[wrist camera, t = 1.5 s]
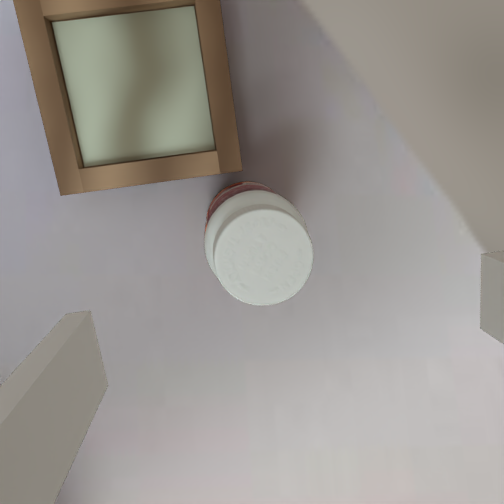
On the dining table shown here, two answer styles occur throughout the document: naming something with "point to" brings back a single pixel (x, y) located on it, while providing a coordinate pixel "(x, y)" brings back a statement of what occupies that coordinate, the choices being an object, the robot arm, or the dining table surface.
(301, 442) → the dining table surface
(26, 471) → the robot arm
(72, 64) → the holder
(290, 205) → the pill bottle
